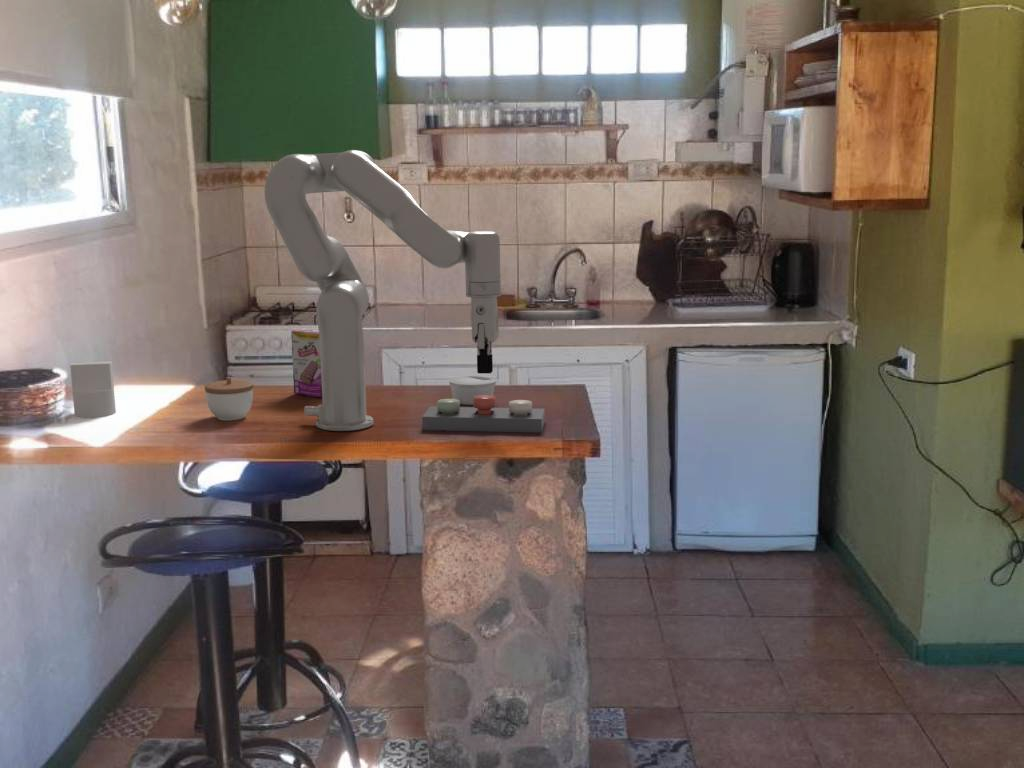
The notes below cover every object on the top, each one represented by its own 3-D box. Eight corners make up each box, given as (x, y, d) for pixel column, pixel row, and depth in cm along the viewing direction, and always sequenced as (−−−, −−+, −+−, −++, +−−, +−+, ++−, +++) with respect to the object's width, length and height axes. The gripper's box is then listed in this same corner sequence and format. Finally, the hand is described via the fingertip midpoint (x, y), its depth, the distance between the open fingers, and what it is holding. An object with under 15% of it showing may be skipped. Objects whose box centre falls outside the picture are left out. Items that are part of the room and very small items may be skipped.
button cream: (508, 426, 234) (508, 404, 233) (510, 421, 238) (510, 399, 237) (530, 427, 233) (530, 405, 232) (532, 421, 238) (532, 400, 237)
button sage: (435, 425, 235) (435, 403, 234) (439, 419, 240) (439, 398, 239) (458, 425, 235) (457, 403, 234) (461, 420, 239) (461, 398, 238)
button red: (471, 421, 234) (471, 399, 233) (474, 416, 239) (474, 394, 238) (494, 422, 234) (494, 400, 233) (497, 416, 238) (496, 395, 238)
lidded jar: (200, 423, 240) (198, 382, 238) (214, 412, 251) (211, 372, 249) (248, 423, 240) (246, 382, 238) (259, 412, 251) (257, 372, 249)
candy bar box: (292, 394, 269) (289, 330, 266) (306, 391, 273) (303, 327, 270) (327, 399, 264) (324, 333, 260) (340, 395, 268) (337, 331, 264)
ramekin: (500, 397, 266) (500, 376, 264) (488, 407, 255) (488, 385, 254) (457, 395, 268) (457, 374, 267) (444, 405, 258) (443, 383, 257)
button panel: (422, 430, 233) (422, 416, 232) (430, 419, 243) (430, 406, 242) (541, 432, 230) (541, 419, 230) (544, 421, 240) (544, 408, 240)
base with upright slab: (118, 408, 255) (114, 358, 252) (112, 417, 246) (108, 365, 244) (78, 410, 253) (73, 360, 250) (71, 419, 244) (66, 367, 242)
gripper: (496, 293, 223) (498, 379, 227) (504, 285, 237) (505, 366, 241) (460, 293, 224) (463, 379, 227) (470, 285, 238) (472, 366, 242)
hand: (485, 372), depth 234 cm, fingers closed
